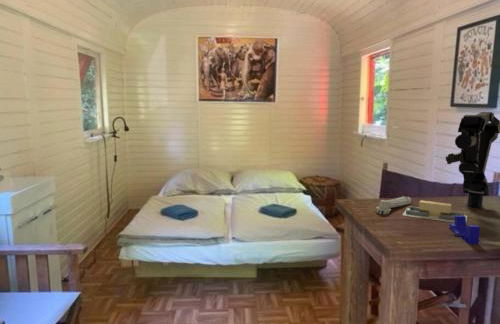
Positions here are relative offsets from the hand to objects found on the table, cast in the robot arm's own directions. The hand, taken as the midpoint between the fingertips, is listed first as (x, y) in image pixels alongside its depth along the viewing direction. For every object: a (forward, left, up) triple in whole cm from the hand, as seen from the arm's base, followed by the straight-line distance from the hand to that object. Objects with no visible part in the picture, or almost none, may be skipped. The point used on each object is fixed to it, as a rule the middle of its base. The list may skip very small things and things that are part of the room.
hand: (467, 185), depth 150 cm
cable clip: (+29, +1, -12) cm, 32 cm away
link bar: (+11, -10, -11) cm, 18 cm away
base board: (+11, -10, -12) cm, 19 cm away
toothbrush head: (+8, -26, -12) cm, 30 cm away
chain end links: (+11, -10, -11) cm, 18 cm away
